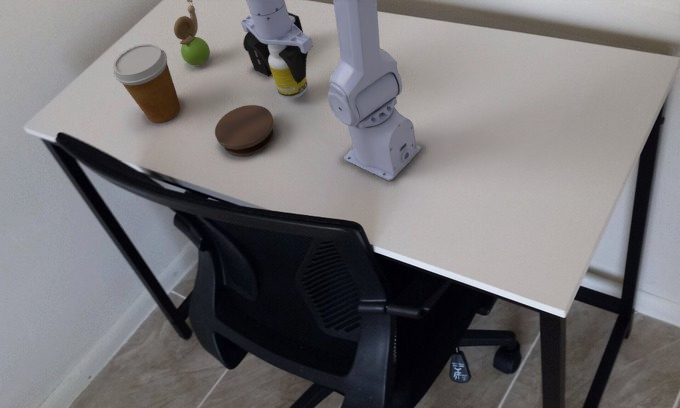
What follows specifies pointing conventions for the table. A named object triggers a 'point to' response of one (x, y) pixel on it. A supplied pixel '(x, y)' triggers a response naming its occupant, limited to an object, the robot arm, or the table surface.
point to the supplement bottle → (284, 74)
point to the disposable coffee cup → (148, 81)
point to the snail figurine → (191, 39)
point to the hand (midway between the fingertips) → (288, 74)
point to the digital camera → (255, 57)
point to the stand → (245, 130)
